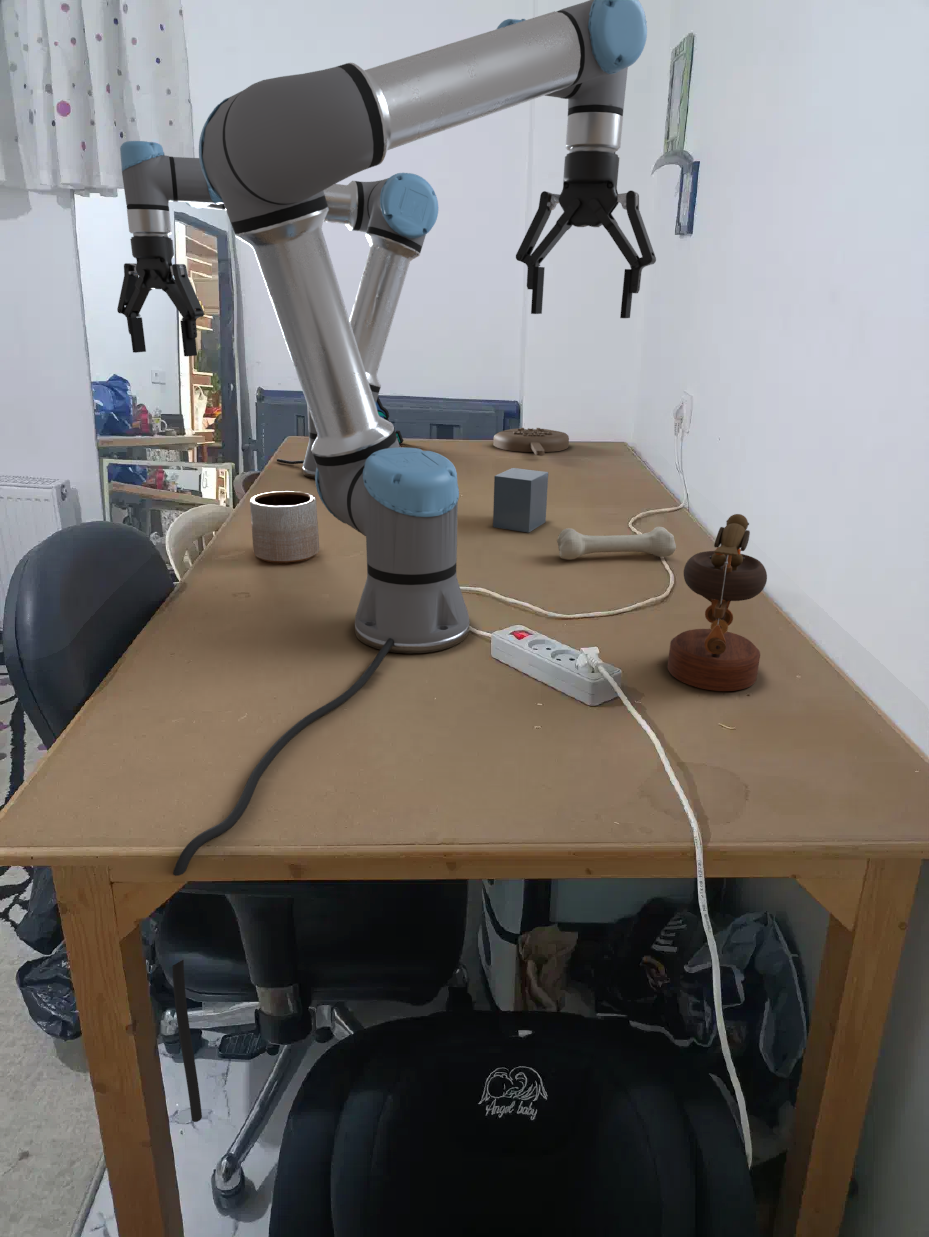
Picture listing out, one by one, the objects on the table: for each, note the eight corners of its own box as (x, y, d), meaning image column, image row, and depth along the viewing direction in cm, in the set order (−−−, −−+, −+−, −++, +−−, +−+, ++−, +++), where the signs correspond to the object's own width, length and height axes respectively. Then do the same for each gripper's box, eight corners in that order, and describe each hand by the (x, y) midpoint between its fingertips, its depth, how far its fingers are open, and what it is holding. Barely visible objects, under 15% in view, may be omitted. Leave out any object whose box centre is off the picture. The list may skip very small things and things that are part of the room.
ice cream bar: (499, 460, 215) (500, 444, 214) (491, 440, 241) (491, 425, 240) (581, 461, 216) (582, 444, 215) (564, 441, 242) (565, 426, 241)
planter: (251, 547, 145) (246, 492, 142) (314, 542, 148) (311, 489, 145) (256, 567, 136) (251, 509, 132) (324, 561, 139) (321, 504, 135)
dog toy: (664, 549, 148) (667, 521, 146) (677, 560, 143) (680, 531, 141) (552, 553, 145) (554, 525, 143) (561, 564, 139) (563, 535, 138)
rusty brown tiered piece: (773, 700, 96) (786, 530, 88) (674, 701, 97) (678, 534, 90) (747, 645, 110) (756, 494, 102) (660, 647, 111) (663, 498, 104)
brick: (545, 522, 164) (548, 472, 160) (528, 532, 157) (531, 480, 153) (510, 517, 167) (512, 467, 163) (492, 527, 160) (494, 475, 156)
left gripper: (216, 236, 156) (226, 356, 165) (119, 237, 167) (133, 349, 175) (186, 235, 150) (199, 359, 158) (87, 235, 161) (104, 351, 169)
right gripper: (688, 154, 115) (669, 319, 123) (517, 158, 124) (510, 311, 132) (677, 146, 109) (658, 320, 117) (498, 151, 118) (492, 312, 126)
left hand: (164, 354), depth 167 cm, fingers open, 13 cm apart
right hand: (579, 316), depth 125 cm, fingers open, 13 cm apart
